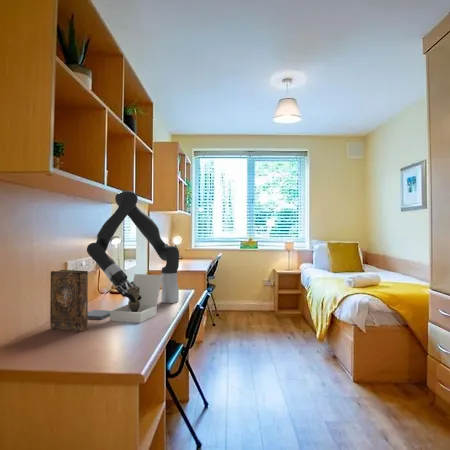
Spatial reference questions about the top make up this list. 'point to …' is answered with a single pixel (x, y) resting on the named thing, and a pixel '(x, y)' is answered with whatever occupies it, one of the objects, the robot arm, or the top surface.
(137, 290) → the twisted stone column
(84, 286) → the book
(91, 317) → the mat
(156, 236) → the robot arm
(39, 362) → the top surface
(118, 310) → the box
